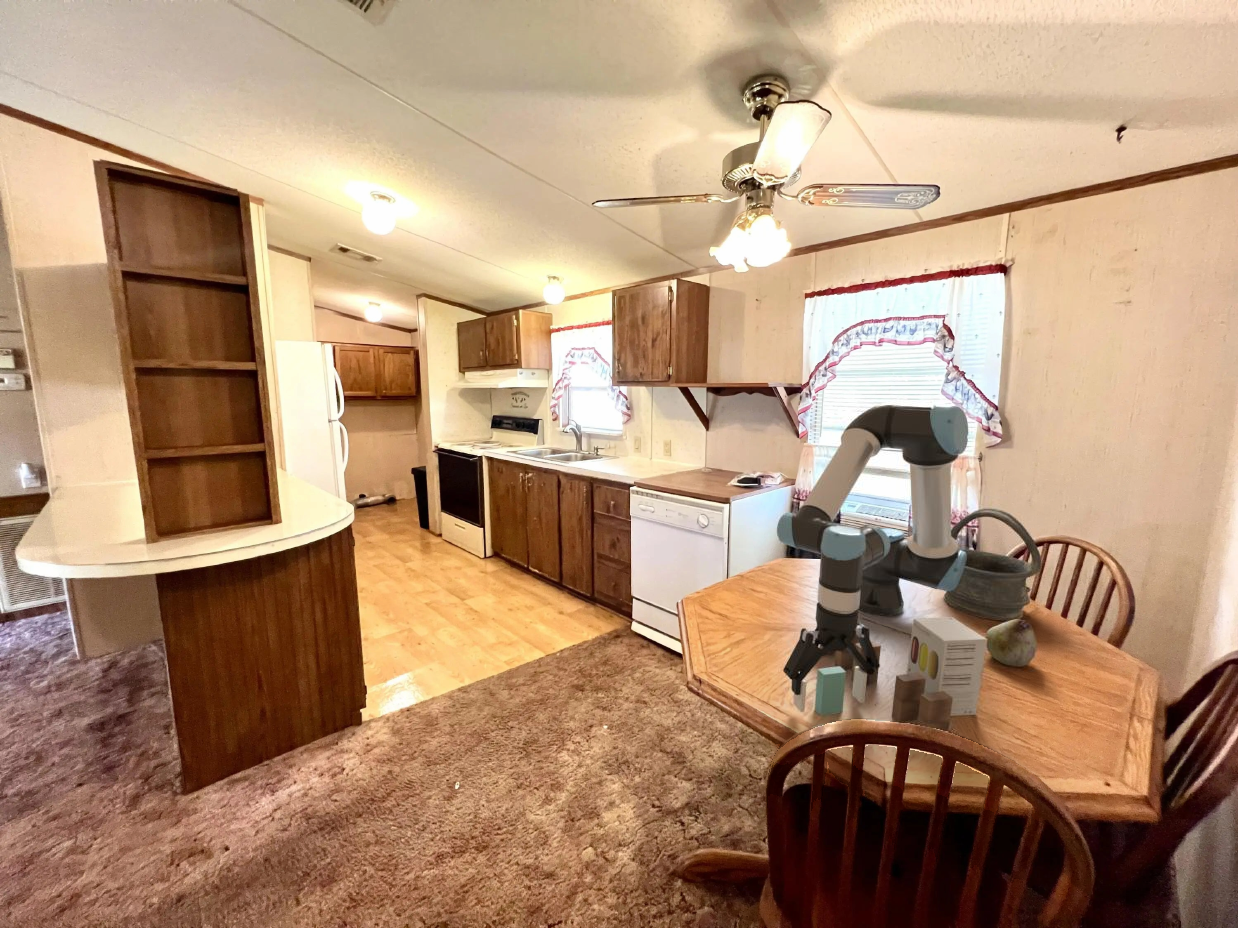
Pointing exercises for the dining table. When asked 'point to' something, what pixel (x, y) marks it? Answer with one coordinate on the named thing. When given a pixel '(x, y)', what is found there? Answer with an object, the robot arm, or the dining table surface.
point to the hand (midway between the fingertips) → (828, 703)
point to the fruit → (1012, 642)
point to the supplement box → (948, 660)
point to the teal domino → (830, 690)
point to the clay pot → (994, 575)
